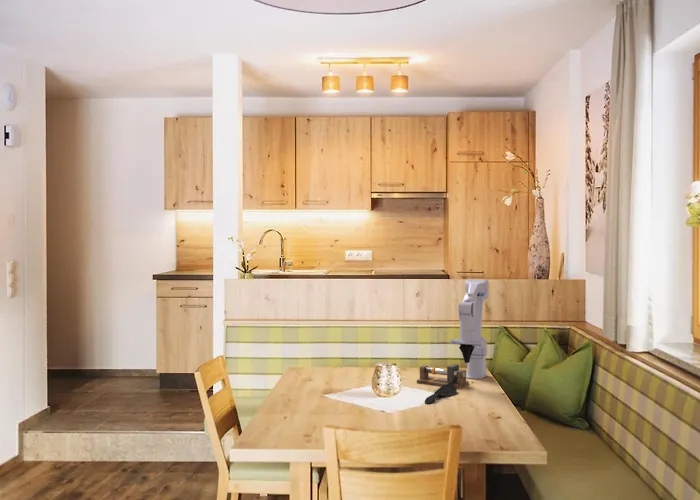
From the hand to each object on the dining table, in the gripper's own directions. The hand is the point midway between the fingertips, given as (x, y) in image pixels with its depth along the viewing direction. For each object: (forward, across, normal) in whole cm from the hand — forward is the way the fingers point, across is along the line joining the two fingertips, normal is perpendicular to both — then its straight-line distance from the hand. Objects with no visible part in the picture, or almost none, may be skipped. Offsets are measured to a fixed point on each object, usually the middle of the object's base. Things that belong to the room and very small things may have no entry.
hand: (467, 362), depth 285 cm
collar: (+9, -6, 0) cm, 11 cm away
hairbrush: (+11, -2, -22) cm, 24 cm away
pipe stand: (+10, -12, 0) cm, 16 cm away
